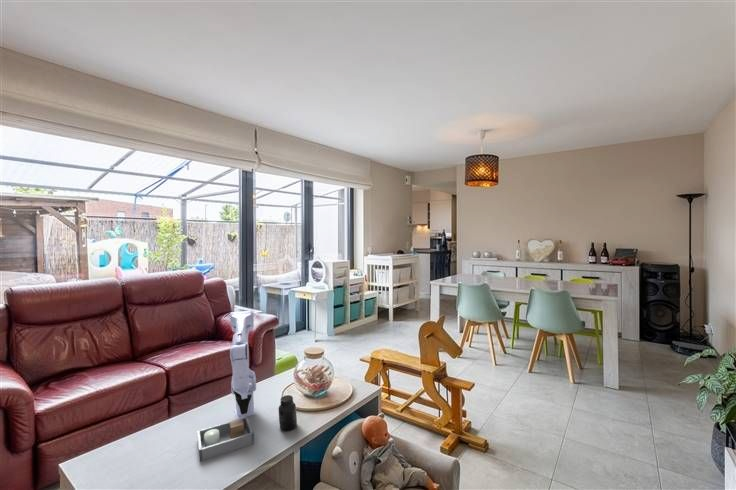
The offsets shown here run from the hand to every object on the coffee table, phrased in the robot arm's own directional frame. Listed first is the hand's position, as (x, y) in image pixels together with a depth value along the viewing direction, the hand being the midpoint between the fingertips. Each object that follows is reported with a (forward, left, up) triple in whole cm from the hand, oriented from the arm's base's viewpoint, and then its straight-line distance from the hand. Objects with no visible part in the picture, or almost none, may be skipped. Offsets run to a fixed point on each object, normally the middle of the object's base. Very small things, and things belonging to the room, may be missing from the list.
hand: (242, 408), depth 133 cm
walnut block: (+4, -3, -9) cm, 10 cm away
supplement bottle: (+6, +16, -10) cm, 20 cm away
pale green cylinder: (+4, -12, -9) cm, 15 cm away
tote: (+4, -7, -9) cm, 12 cm away
